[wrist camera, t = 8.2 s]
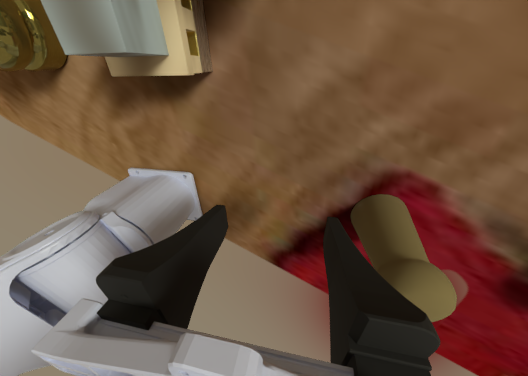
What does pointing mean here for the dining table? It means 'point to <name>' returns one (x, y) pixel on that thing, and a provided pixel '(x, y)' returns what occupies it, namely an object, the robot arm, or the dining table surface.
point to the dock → (198, 34)
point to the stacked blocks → (127, 34)
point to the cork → (402, 255)
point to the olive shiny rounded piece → (28, 38)
